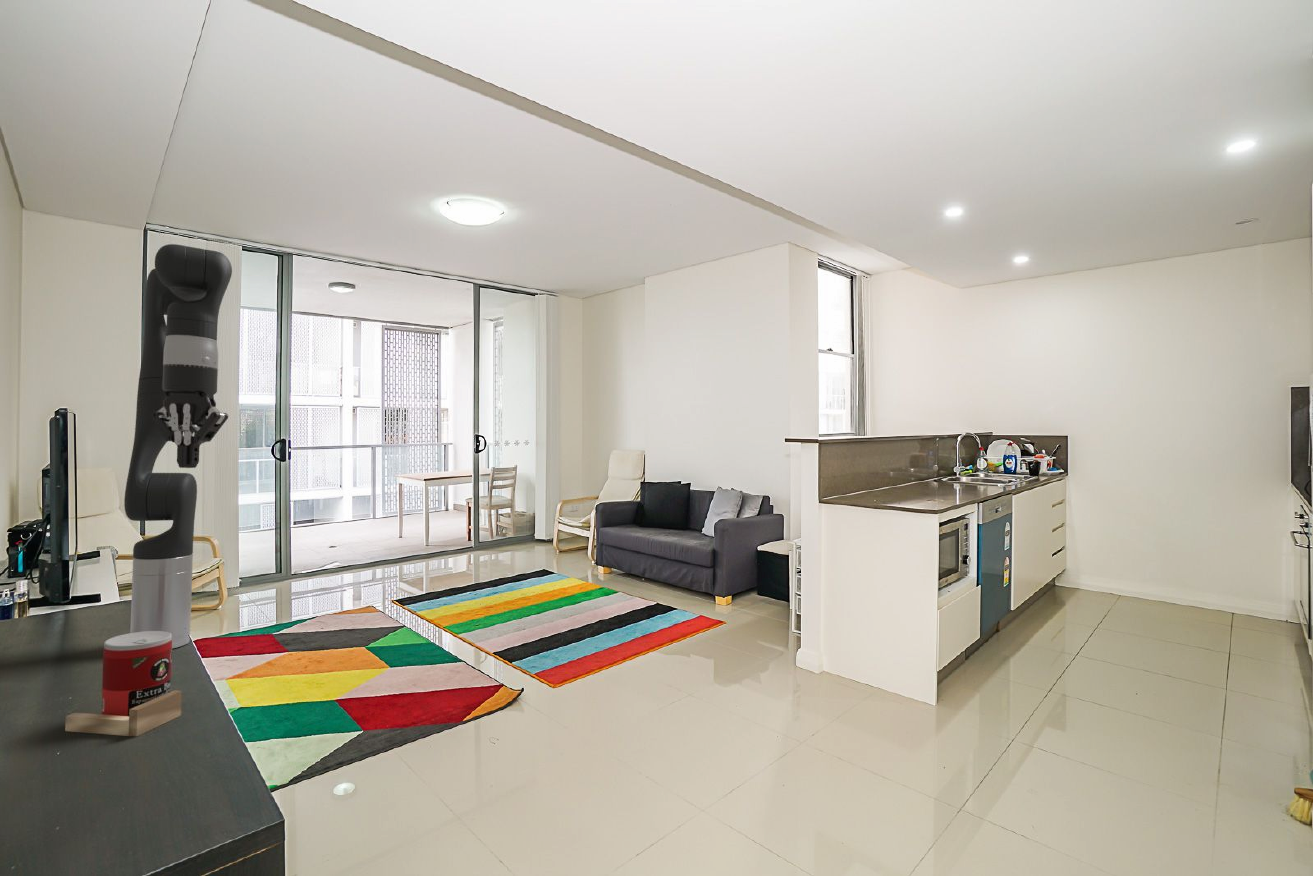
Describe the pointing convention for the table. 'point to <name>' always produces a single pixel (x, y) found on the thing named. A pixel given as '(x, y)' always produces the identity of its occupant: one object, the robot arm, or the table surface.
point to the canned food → (135, 670)
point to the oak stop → (129, 718)
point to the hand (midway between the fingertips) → (187, 467)
